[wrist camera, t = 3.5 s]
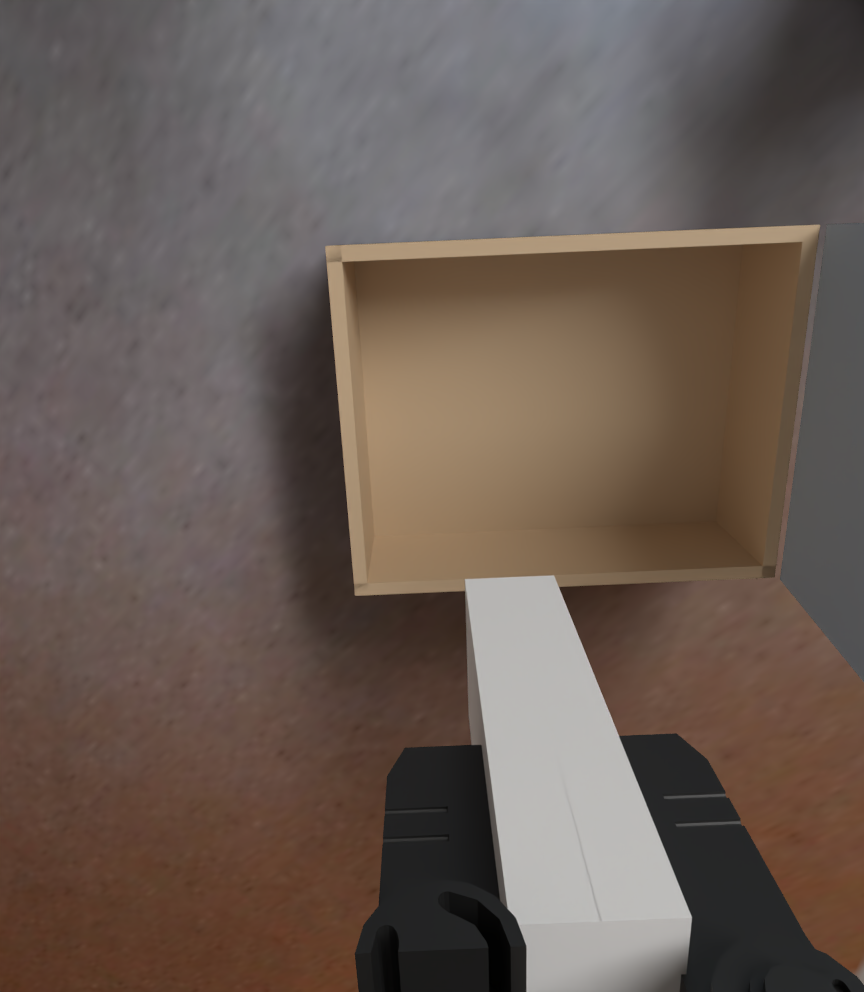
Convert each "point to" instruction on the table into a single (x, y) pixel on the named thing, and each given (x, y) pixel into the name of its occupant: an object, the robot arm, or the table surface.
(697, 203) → the table surface
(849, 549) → the lid
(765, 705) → the table surface
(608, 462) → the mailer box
